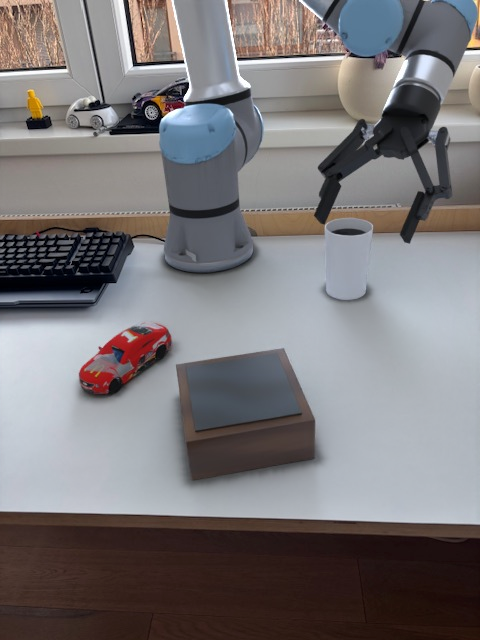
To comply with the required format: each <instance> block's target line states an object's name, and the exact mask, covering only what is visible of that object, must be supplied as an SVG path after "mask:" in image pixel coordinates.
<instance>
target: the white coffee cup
mask: <svg viewBox="0 0 480 640" xmlns="http://www.w3.org/2000/svg"><path fill="white" fill-rule="evenodd" d="M373 233H374V225H373V223H371V222H370V221H368V220H366V219H361V218H356V217H342V218H335V219H332V220H329V221H328V222H326V223H325V224H324V257H325V258H324V260H325V291H326V293H327V295H328V296H330V297H332V298H333V299H337V300H340V301H342V300H343V301H353V300H357V299H360V298H362V297H363V296H364V295H365V294H366V291H367V284H368V275H369V266H370V258H371V251H372V241H373Z"/></svg>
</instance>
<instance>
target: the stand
mask: <svg viewBox="0 0 480 640" xmlns="http://www.w3.org/2000/svg"><path fill="white" fill-rule="evenodd" d="M175 367H176V368H175V369H176V377H177V384H178V393H179V400H180V401H179V402H180V408H181V416H182V424H183V433H184V440H185V447H186V453H187V454H186V455H187V460H188V466H189V467H188V468H189V473H190V480H191V481H195V480H201V479H206V478H212V477H218V476H224V475H228V474H234V473H240V472H246V471H251V470H258V469H262V468H268V467H274V466H280V465H285V464H291V463H296V462H297V463H298V462H303V461H308V460H314V459H315V457H316V454H315V453H316V418H315V416H314V414H313V411H312V409H311V407H310V405H309V402H308V400H307V398H306V396H305V392H304V390H303V388H302V386H301V384H300V382H299V380H298V377H297V374H296V372H295V370H294V368H293V366H292V363H291V360H290V358H289V356H288V354H287V352H286V350H285V348H284V347H282V348H275V349H267V350H261V351H256V352H248V353H242V354H235V355H229V356H222V357H216V358H210V359H203V360H196V361H189V362H184V363H183V362H182V363H177V364H175Z"/></svg>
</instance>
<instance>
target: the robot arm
mask: <svg viewBox="0 0 480 640" xmlns="http://www.w3.org/2000/svg"><path fill="white" fill-rule="evenodd" d="M298 2H300V3H302V4H303V6H304V7H306V8H307V9H308V10H309V11H311V13H313V14H314V15H315V16H316V17H318V18H319V19H320V20H321V21H322V22H323V23H324V24H325V25H326V26H327V27H328V28H329V29H331V30H332V31H333V32H334V33H335V34H336V35H338V36H339V38H340V40H341V42H342V44H343V45H344V47H345V48H346V49H347V50H348V51H349V52H351V53H352V54H353V55H356V56H360V57H373V56H378V55H381V54H382V53H384V52H386V51H390V52H393V53H395V54H397V55H399V56H403V57H404V58H405V59H404V61H403V63H402V66H401V69H400V71H399V72H398V75H397V76H396V80H395V81H394V84H393V86H392V89H391V91H390V93H389V96H388V98H387V100H386V103H385V105H384V106H383V110H382V112H381V117H380V119H379V120H378V122H377V123H376V124H372V123H367V121H366V120H365V118H360V119H359V120H357V122H356V124H355V126H354V128H353V130H352V131H351V132H350V133H349V134H348V135H347V136H346V137H344V139H343V140H342V141H341V142H340V143H339V144H338V145H337V146H336V147H335V148H334V149H333V150H332V151H331V152H330V153H329V154H328V155H327V156H326V157H325V158H324V160H322V161H321V162H320V163H319V164H318V166H317V170H318V172H319V173H320V175H321V176H322V177H323V178H324V180H323V183H322V185H321V187H320V190H319V192H318V197H319V200H320V201H319V202H318V205H317V207H316V209H315V211H314V213H313V217H314V218H315V219H316V220H317V221H318V222H319V224H320V225H325V224H327V221H328V218H329V217H330V214H331V211H332V209H333V207H334V205H335V202H336V200H337V198H338V195H339V194H340V191H341V188H342V185H341V183H340V182H341V181H343V180H344V179H346V178H347V177H349V176H350V175H352V174H353V173H354V172H356V171H358V169H361V168H362V167H363V166H365V165H366V164H368V163H369V162H370V161H372V160H377V159H379V158H380V157H382V156H383V158H387V159H391V158H395V159H397V160H403V161H404V160H405V159H407V158H409V157H410V159H411V161H412V163H413V165H414V169H415V171H416V172H417V175H418V177H419V180H420V182H421V184H422V187H423V189H424V191H421V190H418V191H417V193H416V195H415V197H414V200H413V202H412V204H411V207H410V209H409V211H408V214H407V215H406V218H405V220H404V223H403V225H402V227H401V230H400V232H399V236H400V238H401V239H402V241H403V242H404V243H406V244H409V245H410V244H411V241H412V239H413V237H414V235H415V232H416V229H417V227H418V225H419V222H420V221H422V222H423V221H424V222H425V221H426V220H427V219H428V218H429V216H430V213H431V211H432V208H433V207H434V204H435V202H436V201H438V200H439V199H445V200H449V199H451V198H452V197H453V188H452V187H453V186H452V179H451V178H452V177H451V169H450V162H449V154H448V149H449V147H450V143H451V135H450V133H449V130H448V128H447V126H441V127H439V128H438V130H432V129H433V127H434V125H435V122H436V121H437V117H438V115H439V113H440V111H441V108H442V107H441V106H442V105H443V103H444V101H445V98H446V97H447V94H448V91H449V90H450V87H451V84H452V82H453V79H454V78H455V75H456V73H457V70H458V68H459V66H460V64H461V62H462V59H463V57H464V55H465V53H466V50H467V48H468V46H469V44H470V42H471V40H472V36H473V33H474V31H475V27H476V24H477V22H478V17H479V9H478V6H477V4H476V2H475V0H430V1H428V0H298ZM171 3H172V8H173V13H174V19H175V22H176V26H177V31H178V32H177V33H178V36H179V41H180V46H181V50H182V54H183V59H184V64H185V69H186V73H187V78H188V83H189V88H188V90H187V92H186V94H185V95H184V97H183V102H184V106H183V108H176V109H174V110H172V111H170V112H168V113H167V114H166V115H165V116H164V117H163V118H161V120H160V123H159V128H158V131H159V132H158V133H159V142H158V145H159V149H160V153H161V161H162V167H163V174H164V180H165V187H166V194H167V201H168V208H169V219H168V224H167V228H166V232H165V233H166V234H165V239H164V245H163V252H164V258H165V261H166V263H167V264H168V265H169V266H170V267H173V268H174V269H177V270H180V271H184V272H189V273H215V272H221V271H225V270H229V269H232V268H235V267H238V266H240V265H242V264H243V263H245V262H247V261H248V260H249V259H250V258H251V257H252V255H253V253H254V240H253V237H252V235H251V232H250V230H249V227H248V225H247V222H246V219H245V217H244V215H243V212H242V210H241V205H240V189H239V187H240V186H239V172H240V171H241V170H242V169H243V168H244V167H245V165H247V164H248V163H249V162H251V160H252V159H254V157H255V155H256V154H257V152H259V149H260V146H261V143H262V141H263V138H264V132H265V131H264V130H265V129H264V127H265V126H264V121H263V117H262V115H261V112H260V110H259V108H258V107H257V106H256V105H255V104H254V100H253V95H252V89H251V84H250V83H249V82H247V81H246V80H244V79H243V78H242V77H241V76H240V72H239V65H238V60H237V54H236V47H235V42H234V41H235V40H234V35H233V29H232V24H231V19H230V18H231V17H230V13H229V7H228V6H229V5H228V1H227V0H171ZM372 135H373V136H372ZM429 142H431V144H432V146H433V148H434V150H435V157H436V166H437V175H438V184H437V185H434V183H433V182H432V181H433V180H432V179H431V177H430V174H429V172H428V169H427V168H426V165H425V162H424V160H423V158H422V156H421V154H420V152H419V150H420V149H421V148H423V147H424V146H426V145H427V144H428V143H429ZM375 146H376V148H374V147H375Z"/></svg>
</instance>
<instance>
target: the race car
mask: <svg viewBox="0 0 480 640" xmlns="http://www.w3.org/2000/svg"><path fill="white" fill-rule="evenodd" d="M172 345H173V339H172V335H171V333H170V331H169V329H168V328H167V327H166V326H165V325H162V324H159V323H157V322H153V321H147V322H146V321H145V322H142V323H140V324H139V323H138V324H135V325H133V326H131V327H128V328H126V329H125V330H122V331H121V332H119V333H117V334H116V335H115V336H113V337H112V338H111V339H110V340H108V341H107V342H106V343H105V344H104V345H103V346H101V345H99V346H98V347H97V348H98V350H99V351H98V352H97V353H96V354H95V355H93V356H92V358H90V359H88V360H87V362H86V363H84V364H83V365H81V368H80V369H79V372H78V380H79V384H80V387H81V389H82V390H84V392H87V393H89V394H94V395H106V394H109V393H110V394H115V393H117V392H119V391H120V389H121V387H122V384H123V385H125V384H126V383H127V382H129V381H130V380H131V379H132V378H134V377H135V376H137V375H138V374H140V373H141V372H142V371H143V370H145V369H146V368H148V367H149V366H150V365H151V364H153V363H154V362H156V361H157V360H161V359H163V358H164V357H165V356H166V353H167V352H168V351H169V350H170V348H171V347H172Z"/></svg>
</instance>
